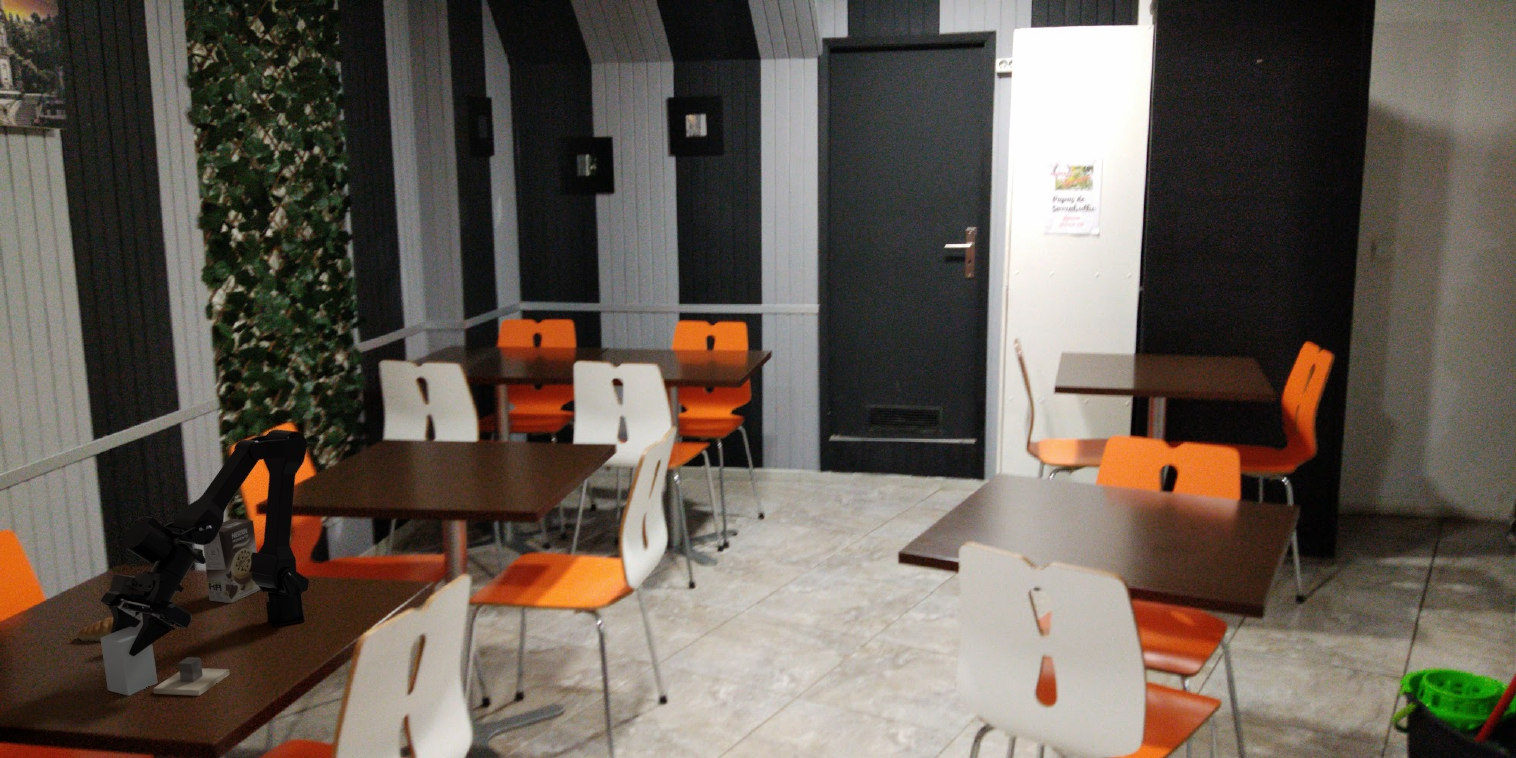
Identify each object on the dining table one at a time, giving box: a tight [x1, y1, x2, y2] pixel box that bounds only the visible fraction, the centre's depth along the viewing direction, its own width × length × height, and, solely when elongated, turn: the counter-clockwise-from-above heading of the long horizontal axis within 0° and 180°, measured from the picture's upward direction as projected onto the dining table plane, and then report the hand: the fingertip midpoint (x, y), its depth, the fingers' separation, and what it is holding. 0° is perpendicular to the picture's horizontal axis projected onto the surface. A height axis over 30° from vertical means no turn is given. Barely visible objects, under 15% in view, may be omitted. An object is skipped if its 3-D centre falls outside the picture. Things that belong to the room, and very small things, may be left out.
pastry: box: [76, 616, 113, 642], centre depth 245 cm, size 9×7×4 cm
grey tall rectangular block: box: [100, 626, 159, 696], centre depth 219 cm, size 6×6×10 cm
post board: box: [152, 656, 230, 697], centre depth 220 cm, size 9×9×4 cm
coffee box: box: [202, 518, 261, 604], centre depth 265 cm, size 9×6×16 cm
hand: (120, 652), depth 218 cm, fingers closed on grey tall rectangular block, 6 cm apart
